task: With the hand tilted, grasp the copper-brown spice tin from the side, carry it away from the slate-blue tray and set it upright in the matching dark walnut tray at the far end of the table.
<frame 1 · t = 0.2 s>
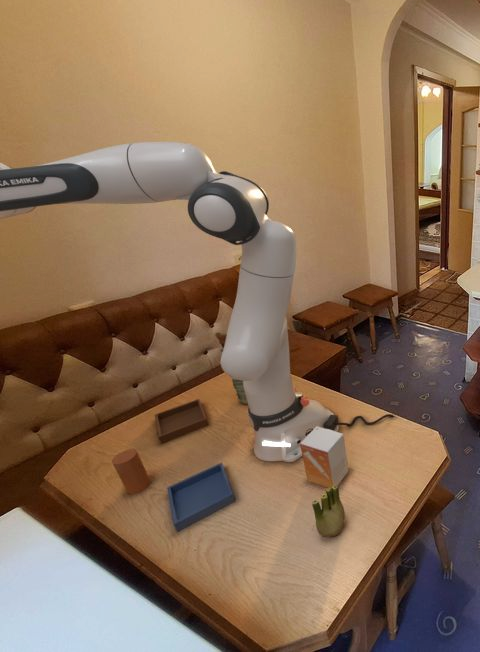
walnut tray: (182, 423, 108), on the table
blue tray: (202, 497, 85), on the table
pouch: (256, 396, 120), on the table
fennel bulb: (333, 529, 79), on the table
spice tin: (139, 486, 88), on the table
small box: (328, 476, 92), on the table
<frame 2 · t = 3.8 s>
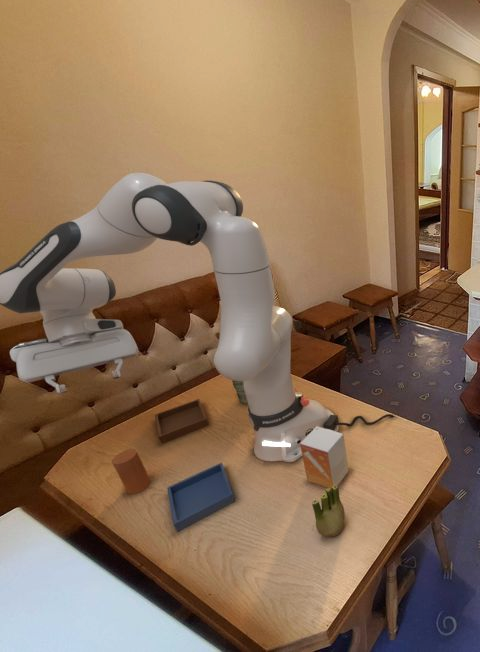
hand: (91, 385, 87), 23 cm above the table, tool tilted 35°, fingers open, 8 cm apart
nothing on the table moved.
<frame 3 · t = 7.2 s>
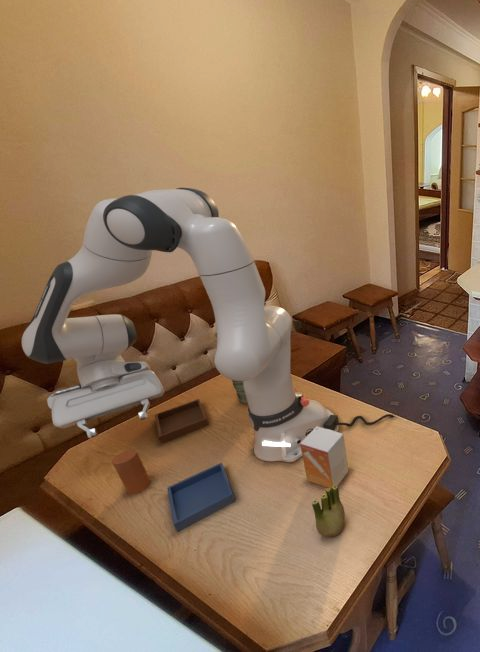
hand: (119, 427, 89), 13 cm above the table, tool tilted 45°, fingers open, 8 cm apart
nothing on the table moved.
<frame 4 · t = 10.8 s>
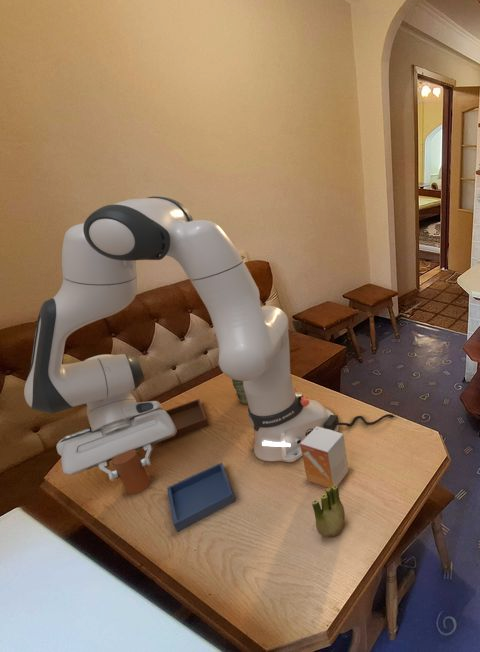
hand: (131, 472, 85), 5 cm above the table, tool tilted 45°, fingers closed on spice tin, 4 cm apart
spice tin: (139, 486, 88), on the table, touching gripper
everything else where it was.
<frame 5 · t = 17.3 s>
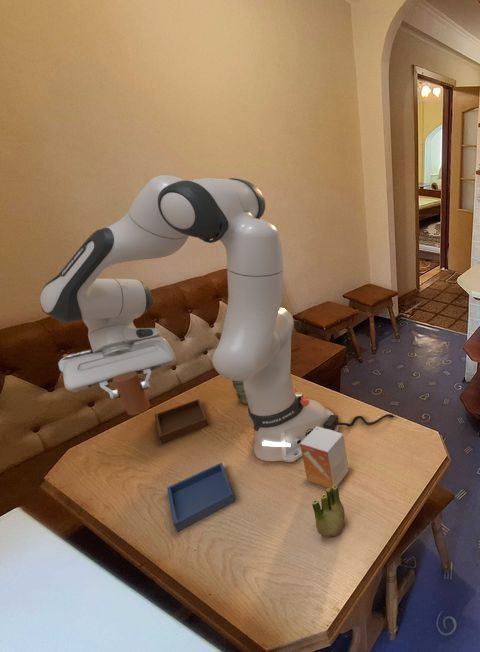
hand: (131, 393, 87), 21 cm above the table, tool tilted 45°, fingers closed on spice tin, 4 cm apart
spice tin: (138, 409, 90), point 16 cm above the table, touching gripper
everything else where it was.
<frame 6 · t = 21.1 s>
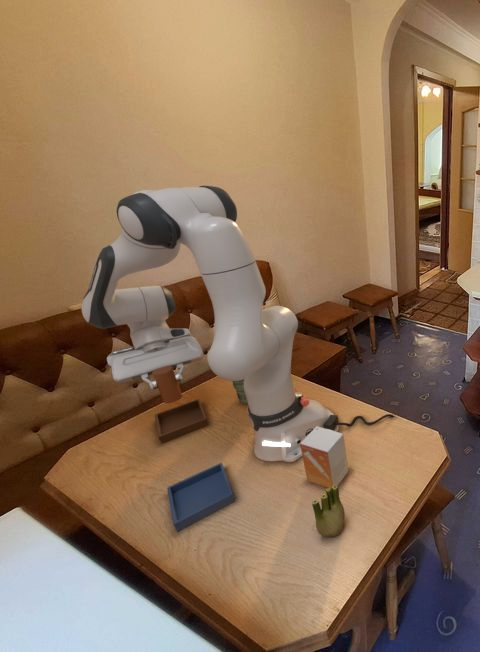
hand: (167, 384, 101), 15 cm above the table, tool tilted 45°, fingers closed on spice tin, 4 cm apart
spice tin: (173, 398, 104), point 9 cm above the table, touching gripper
everything else where it was.
when the fingers open (6 cm above the table, at t = 23.9 s): spice tin stays where it is, resting on walnut tray.
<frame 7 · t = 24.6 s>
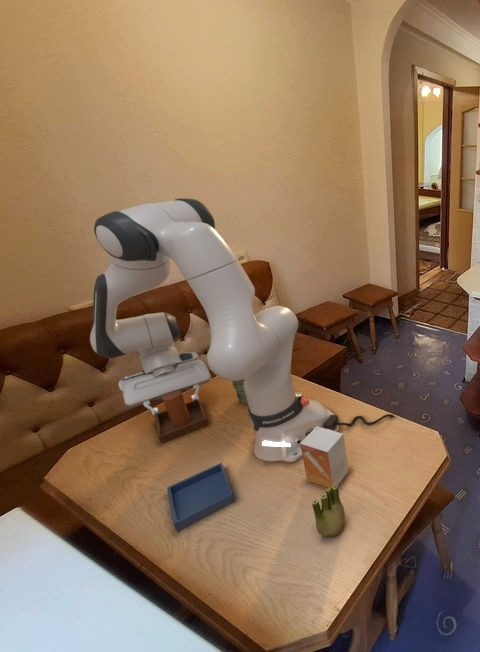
hand: (176, 407, 105), 6 cm above the table, tool tilted 45°, fingers open, 8 cm apart
spice tin: (181, 421, 107), resting on walnut tray
everything else where it was.
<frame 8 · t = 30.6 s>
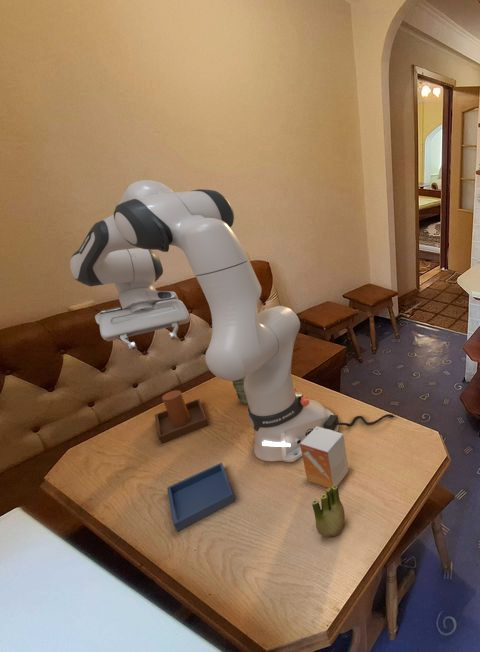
hand: (154, 343, 105), 23 cm above the table, tool tilted 45°, fingers open, 8 cm apart
nothing on the table moved.
at the end: spice tin inside the target area in the walnut tray (0.1 cm from its centre), point 0.5 cm above the walnut tray's base; spice tin tilted 0°; spice tin touching walnut tray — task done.
